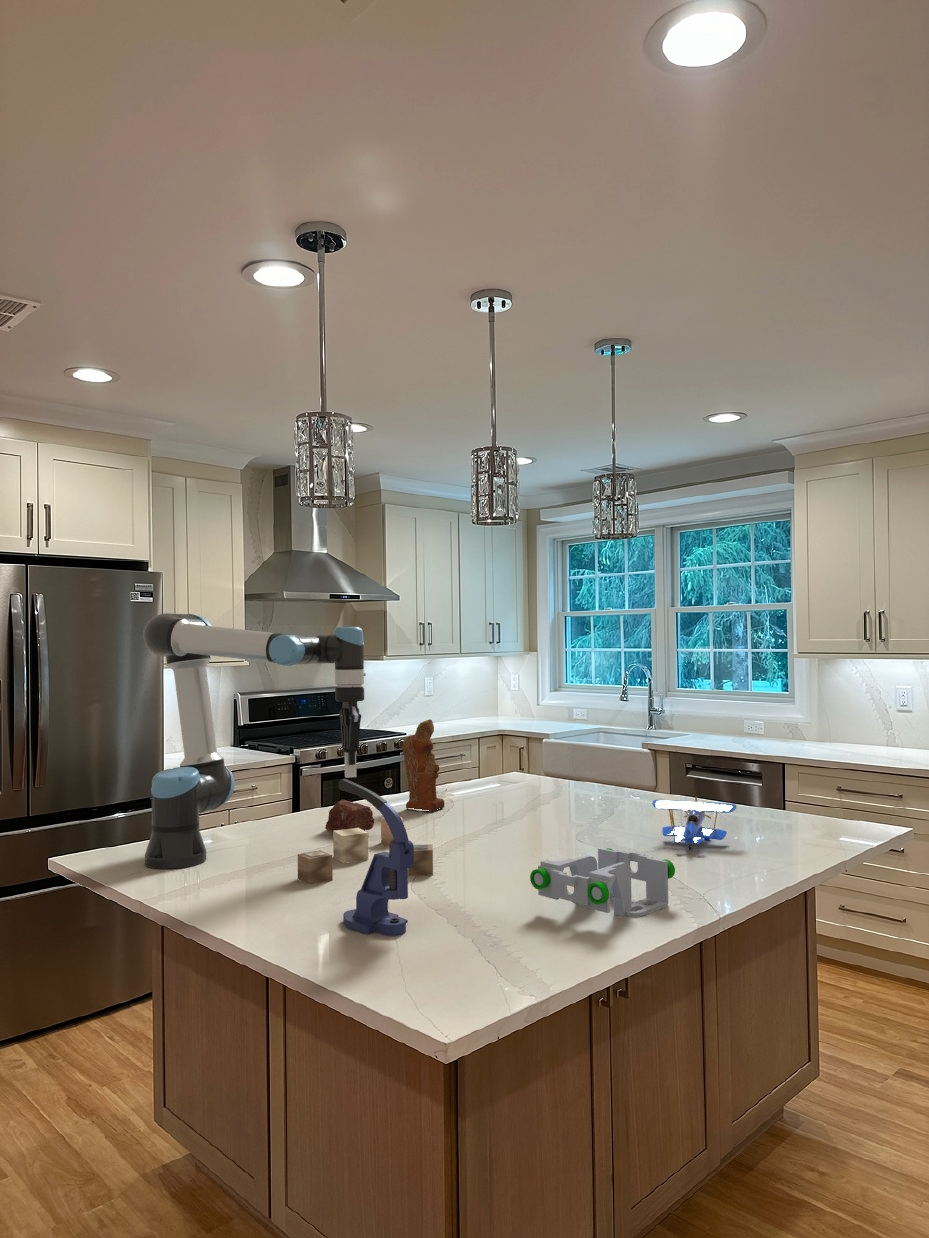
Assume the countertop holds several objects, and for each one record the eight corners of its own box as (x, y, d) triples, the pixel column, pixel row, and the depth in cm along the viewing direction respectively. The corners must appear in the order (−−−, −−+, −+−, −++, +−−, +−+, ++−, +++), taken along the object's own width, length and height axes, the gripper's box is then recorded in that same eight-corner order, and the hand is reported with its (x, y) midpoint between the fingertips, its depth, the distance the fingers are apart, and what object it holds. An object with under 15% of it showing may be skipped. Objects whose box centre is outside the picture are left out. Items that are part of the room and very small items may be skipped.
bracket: (530, 912, 178) (529, 863, 178) (603, 887, 195) (602, 842, 196) (604, 933, 165) (603, 880, 165) (675, 904, 182) (674, 856, 182)
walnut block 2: (408, 875, 207) (407, 849, 207) (408, 869, 213) (408, 844, 213) (433, 875, 207) (432, 849, 207) (432, 868, 213) (432, 843, 213)
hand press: (423, 929, 167) (422, 784, 168) (391, 942, 161) (390, 791, 162) (357, 911, 180) (356, 776, 180) (324, 922, 173) (323, 781, 174)
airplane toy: (724, 882, 223) (731, 837, 219) (638, 861, 230) (644, 817, 226) (731, 835, 246) (738, 793, 242) (653, 817, 253) (658, 777, 249)
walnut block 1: (309, 885, 200) (309, 858, 200) (297, 879, 205) (297, 853, 205) (332, 880, 204) (332, 854, 204) (320, 875, 208) (320, 849, 208)
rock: (376, 836, 250) (376, 804, 251) (359, 839, 246) (359, 807, 246) (336, 827, 263) (336, 797, 263) (319, 830, 258) (319, 799, 258)
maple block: (342, 863, 219) (342, 835, 219) (333, 857, 225) (333, 830, 225) (368, 860, 222) (368, 832, 223) (358, 854, 229) (358, 827, 229)
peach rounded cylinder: (384, 846, 237) (384, 820, 237) (378, 842, 242) (378, 816, 242) (405, 844, 239) (405, 818, 239) (398, 839, 245) (398, 815, 245)
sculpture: (448, 808, 289) (447, 719, 290) (433, 813, 282) (432, 721, 283) (416, 805, 296) (415, 717, 297) (400, 809, 289) (400, 719, 290)
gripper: (370, 686, 220) (371, 779, 220) (356, 684, 233) (357, 772, 232) (341, 687, 218) (342, 781, 217) (329, 685, 230) (330, 774, 229)
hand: (350, 776), depth 224 cm, fingers closed
